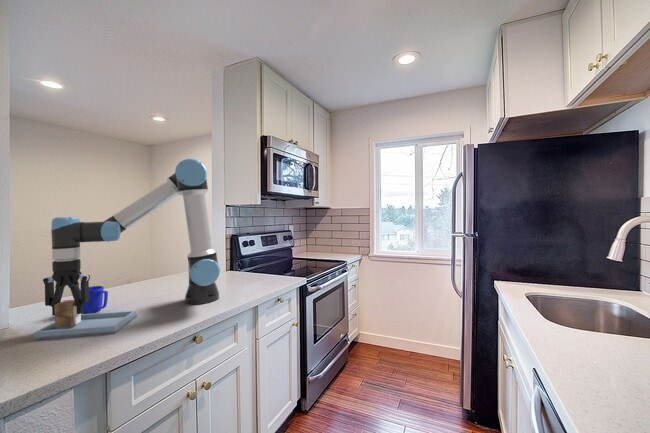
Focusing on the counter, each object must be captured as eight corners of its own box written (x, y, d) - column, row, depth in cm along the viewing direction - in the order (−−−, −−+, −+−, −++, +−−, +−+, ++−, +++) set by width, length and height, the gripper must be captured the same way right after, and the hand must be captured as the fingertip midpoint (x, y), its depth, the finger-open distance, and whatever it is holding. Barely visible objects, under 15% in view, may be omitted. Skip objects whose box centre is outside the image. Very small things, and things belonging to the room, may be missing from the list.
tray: (136, 316, 113) (136, 310, 113) (115, 333, 97) (115, 326, 97) (67, 321, 108) (67, 315, 108) (33, 340, 92) (33, 332, 92)
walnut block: (80, 320, 104) (80, 299, 104) (71, 326, 99) (71, 303, 99) (65, 321, 103) (64, 300, 103) (55, 327, 98) (54, 304, 98)
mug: (97, 316, 113) (96, 291, 113) (73, 314, 116) (73, 290, 116) (116, 309, 121) (115, 286, 121) (93, 307, 124) (93, 285, 124)
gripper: (101, 256, 106) (102, 317, 107) (45, 258, 103) (47, 321, 103) (88, 260, 99) (90, 325, 99) (28, 262, 95) (30, 330, 96)
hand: (68, 323), depth 101 cm, fingers closed on walnut block, 5 cm apart
